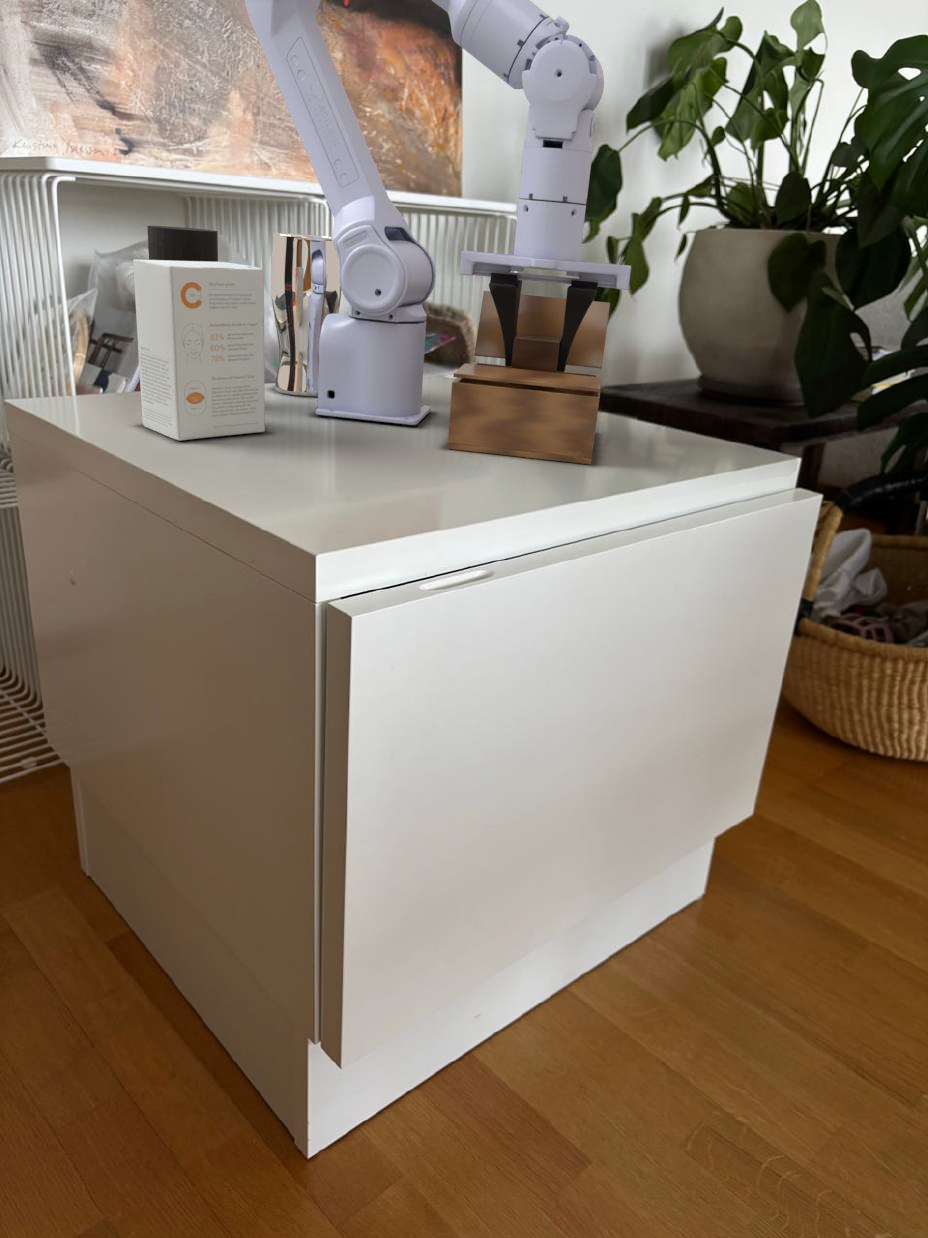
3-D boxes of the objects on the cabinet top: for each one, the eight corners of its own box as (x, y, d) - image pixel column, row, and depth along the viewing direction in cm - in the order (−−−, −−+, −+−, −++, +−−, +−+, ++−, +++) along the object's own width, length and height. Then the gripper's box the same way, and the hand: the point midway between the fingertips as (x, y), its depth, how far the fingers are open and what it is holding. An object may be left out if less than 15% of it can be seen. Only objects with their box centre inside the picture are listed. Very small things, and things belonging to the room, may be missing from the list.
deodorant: (200, 392, 95) (196, 227, 89) (232, 404, 91) (230, 232, 85) (143, 396, 91) (135, 224, 85) (173, 408, 87) (167, 228, 81)
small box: (226, 418, 85) (224, 260, 80) (266, 433, 81) (266, 267, 76) (139, 425, 79) (130, 257, 74) (177, 442, 75) (170, 264, 70)
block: (509, 384, 85) (513, 337, 84) (513, 377, 89) (518, 332, 88) (554, 388, 85) (559, 341, 83) (557, 382, 89) (562, 337, 87)
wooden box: (447, 448, 81) (452, 373, 78) (468, 420, 93) (473, 354, 90) (590, 464, 80) (600, 388, 77) (593, 433, 91) (602, 367, 89)
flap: (483, 290, 91) (483, 291, 91) (474, 354, 90) (474, 355, 90) (610, 302, 90) (610, 303, 90) (601, 367, 89) (601, 368, 89)
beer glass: (325, 400, 96) (329, 238, 90) (259, 392, 97) (259, 232, 92) (347, 389, 103) (352, 238, 97) (285, 382, 104) (286, 232, 98)
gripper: (460, 193, 78) (448, 364, 84) (640, 208, 77) (616, 382, 82) (472, 196, 85) (460, 355, 90) (637, 210, 83) (616, 370, 89)
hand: (534, 367), depth 87 cm, fingers closed on block, 4 cm apart
